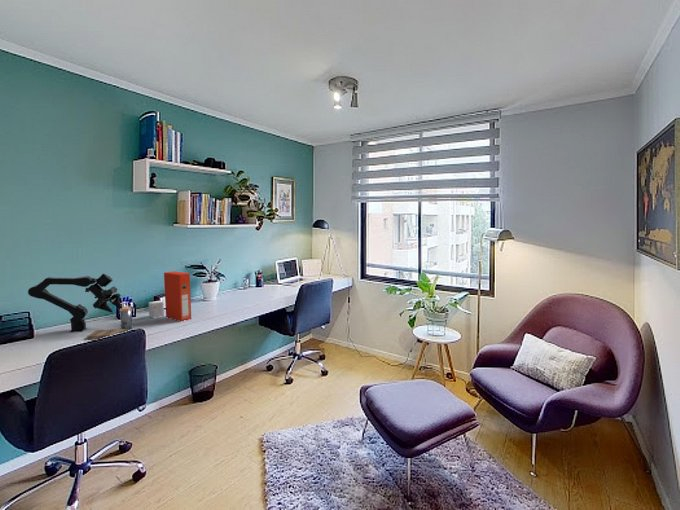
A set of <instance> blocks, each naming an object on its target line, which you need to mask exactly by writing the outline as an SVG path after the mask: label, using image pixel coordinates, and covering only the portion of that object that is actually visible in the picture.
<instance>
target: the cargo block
mask: <svg viewBox="0 0 680 510" xmlns="http://www.w3.org/2000/svg"><path fill="white" fill-rule="evenodd" d="M129 310H131V311H132V308H131V307H130V306H127V307H125V306H124V307H123V306H122V309H120V311H129Z"/></svg>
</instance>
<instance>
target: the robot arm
mask: <svg viewBox="0 0 680 510" xmlns="http://www.w3.org/2000/svg"><path fill="white" fill-rule="evenodd" d="M112 282H113V278H112V277H110V276H109V275H107V274H105V273H104V272H103V273H102V274H101V275H100V276H99V277H98V278H94V277H91V276H89V275H84V276H77V277H51V276H48V277H46V278H44V280H42V281H40V282H39V283H38V284H37V285H34V286H31V287H30V288H28V290H27V295H28V296H30V297H31V298H36V299H41V300H43V301H44V300H45V301H46V302H48V303H51V304H53V305H55V306H57V307H59V308H61V309H63V310H65V311H67V312H68V313H69V314H70V315H71V316H72V317H71V318H70V319H69V321H70V330H69V332H70V333H73V331H77V332H83V331H84V329H85V330H86V329H87V322H86V321H85V317H86V316H87V315H88V314H89V313H88V312H89V311H88V309H87V307H86V306H83V305H82V304H81V303H79V304H77V305H76V304H72V303H71V302H68V301H66V300H64V299H63V298H60V297H59V296H57V295H54V294H52V293H50V292H49V290H47V287H49V286H50V285H60V286H61V285H66V286H67V285H70V286H71V285H73V286H77V287H81V288H83V287H84V288H85V291H84V292H85V293H89V292H91V294H92V295H94V299H96V301H94V303H92V307H93V308H94V309H98V310H102V311H105V312H108V313H113V309H112V308H111V307H110V306H109V305H108V302H109V303H111V305H113V306H115V307H117V308H118V309H120V310H121V309H122V308H123V305H122V303H121V301H120V298H121V297H122V295H121V294H120V293H119V292H118V288H117V287H116V286H112V287H110V288H109V289H104V288H103V287H105V288H106V287H107V286H108V285H110V284H111V283H112Z"/></svg>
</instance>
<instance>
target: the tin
mask: <svg viewBox="0 0 680 510" xmlns="http://www.w3.org/2000/svg"><path fill="white" fill-rule="evenodd" d="M132 312H133V311H132V309H131V310H129V311H121V310H120V313H119V314H120V329H129V331H131V330H132V329H133V315H132V314H133V313H132ZM130 329H131V330H130Z"/></svg>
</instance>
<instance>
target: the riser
mask: <svg viewBox="0 0 680 510" xmlns="http://www.w3.org/2000/svg"><path fill="white" fill-rule="evenodd" d="M128 330H129V329H121V328H115V329H114V328H113V329H97V330H94V331H92V332H91V333H89V334H88V335H87V336H86V339H89V340H99V339H98V338H103V337H106V336H110V335H114V334H117V333H122V332H125V331H128ZM129 331H130V330H129Z"/></svg>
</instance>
